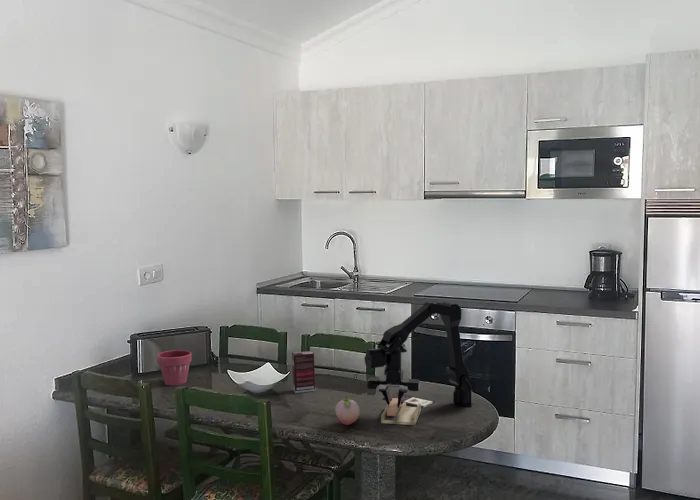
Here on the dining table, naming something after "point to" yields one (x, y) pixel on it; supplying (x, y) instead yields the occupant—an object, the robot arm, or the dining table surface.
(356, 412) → the decorative fruit
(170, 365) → the plant pot
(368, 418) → the dining table surface
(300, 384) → the supplement box
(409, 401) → the chocolate bar
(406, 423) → the cream desk organizer
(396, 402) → the clay strip
